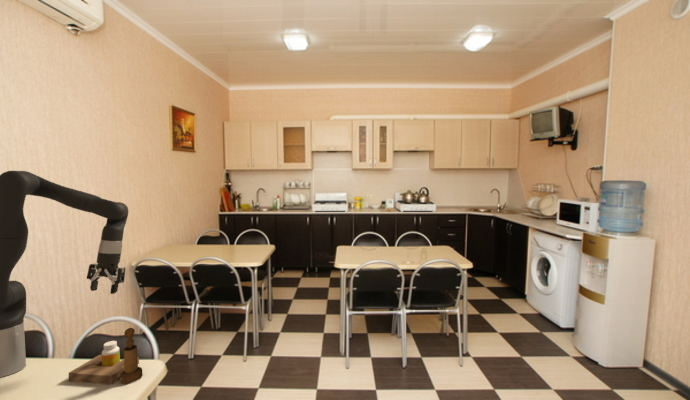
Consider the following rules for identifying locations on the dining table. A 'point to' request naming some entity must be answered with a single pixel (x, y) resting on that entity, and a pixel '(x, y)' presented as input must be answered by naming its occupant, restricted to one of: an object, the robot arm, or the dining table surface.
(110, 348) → the supplement bottle
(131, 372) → the mortar and pestle
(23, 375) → the dining table surface
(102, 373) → the notched board
